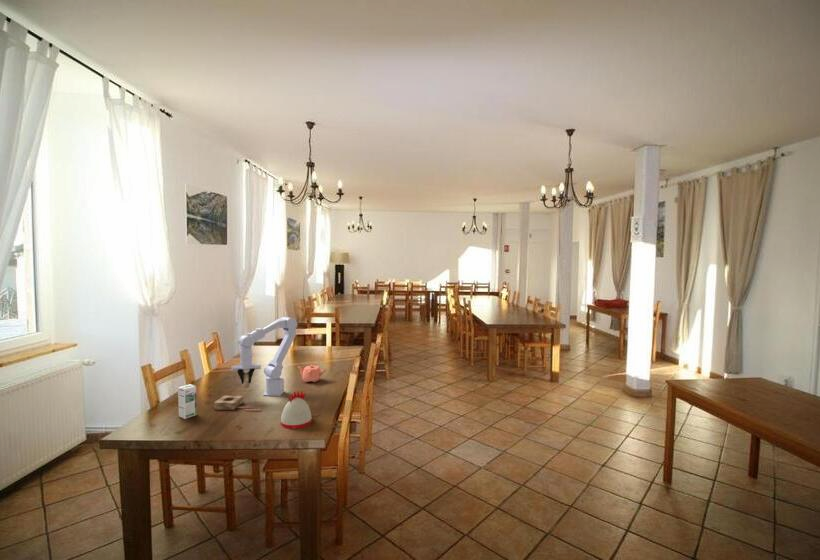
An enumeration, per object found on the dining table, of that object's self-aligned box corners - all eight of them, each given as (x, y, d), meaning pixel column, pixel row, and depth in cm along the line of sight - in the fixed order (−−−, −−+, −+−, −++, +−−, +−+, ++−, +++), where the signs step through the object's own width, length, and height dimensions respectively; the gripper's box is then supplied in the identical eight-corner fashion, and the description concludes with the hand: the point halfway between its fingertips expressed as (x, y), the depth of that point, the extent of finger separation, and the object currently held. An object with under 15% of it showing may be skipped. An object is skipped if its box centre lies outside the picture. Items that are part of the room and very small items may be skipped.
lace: (264, 408, 197) (264, 407, 197) (261, 411, 194) (261, 410, 193) (234, 407, 198) (234, 406, 198) (231, 410, 194) (231, 409, 194)
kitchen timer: (315, 424, 179) (315, 392, 179) (285, 431, 172) (285, 398, 171) (306, 414, 191) (306, 384, 190) (277, 420, 184) (277, 389, 183)
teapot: (317, 376, 252) (317, 361, 252) (326, 381, 243) (326, 365, 242) (296, 381, 243) (296, 365, 242) (305, 385, 234) (305, 369, 233)
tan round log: (250, 386, 210) (250, 371, 210) (247, 388, 207) (247, 373, 207) (244, 386, 210) (244, 371, 210) (242, 388, 207) (242, 373, 207)
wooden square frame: (242, 402, 205) (242, 396, 205) (233, 409, 195) (233, 403, 195) (224, 402, 205) (224, 395, 205) (214, 409, 195) (214, 402, 195)
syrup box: (184, 419, 183) (184, 389, 182) (178, 416, 186) (177, 386, 185) (196, 415, 188) (196, 385, 187) (190, 412, 191) (189, 383, 190)
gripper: (261, 355, 214) (261, 379, 214) (232, 356, 210) (233, 381, 210) (260, 358, 207) (260, 383, 207) (230, 360, 203) (230, 385, 204)
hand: (246, 382), depth 208 cm, fingers closed on tan round log, 3 cm apart
